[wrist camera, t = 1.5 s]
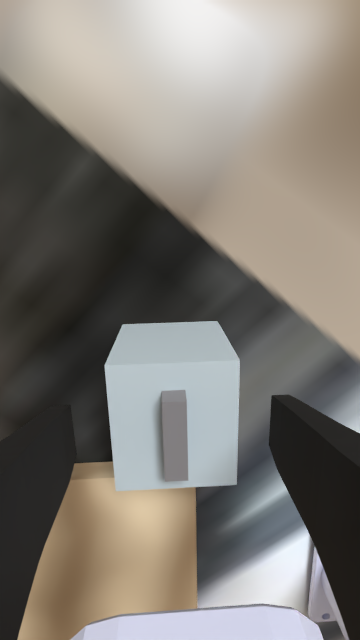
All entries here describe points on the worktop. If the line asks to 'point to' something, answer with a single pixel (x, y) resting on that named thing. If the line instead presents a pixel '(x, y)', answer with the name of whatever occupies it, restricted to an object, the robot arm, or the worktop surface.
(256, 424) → the worktop surface
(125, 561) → the wall board
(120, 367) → the cabinet block
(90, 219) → the worktop surface
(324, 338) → the worktop surface
